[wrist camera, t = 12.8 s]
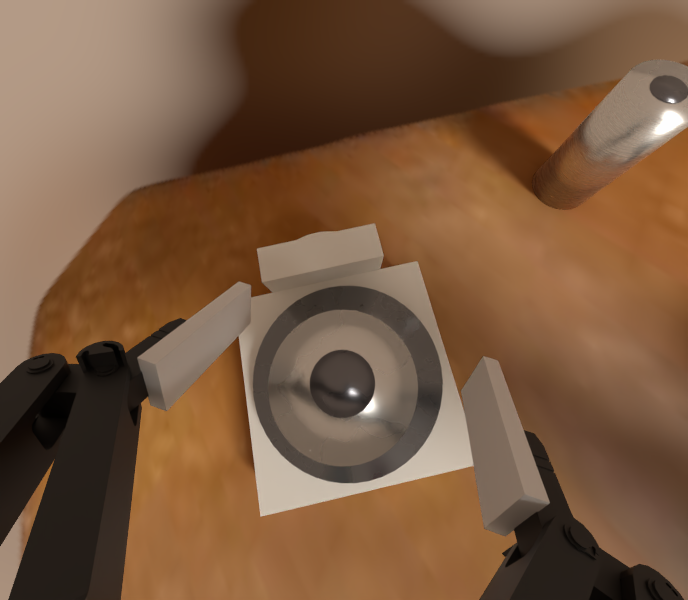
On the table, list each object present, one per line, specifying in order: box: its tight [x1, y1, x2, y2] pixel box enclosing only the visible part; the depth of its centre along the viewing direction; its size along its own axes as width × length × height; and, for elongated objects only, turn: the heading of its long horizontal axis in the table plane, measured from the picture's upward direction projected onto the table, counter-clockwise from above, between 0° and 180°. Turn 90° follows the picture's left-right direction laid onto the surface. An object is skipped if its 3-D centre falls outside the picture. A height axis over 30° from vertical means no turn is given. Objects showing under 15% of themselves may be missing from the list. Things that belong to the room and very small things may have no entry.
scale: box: [239, 223, 474, 516], centre depth 24 cm, size 17×21×7 cm
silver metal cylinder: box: [268, 310, 418, 466], centre depth 16 cm, size 6×6×11 cm
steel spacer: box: [532, 60, 688, 210], centre depth 26 cm, size 6×6×11 cm
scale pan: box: [253, 286, 443, 483], centre depth 22 cm, size 15×15×1 cm
